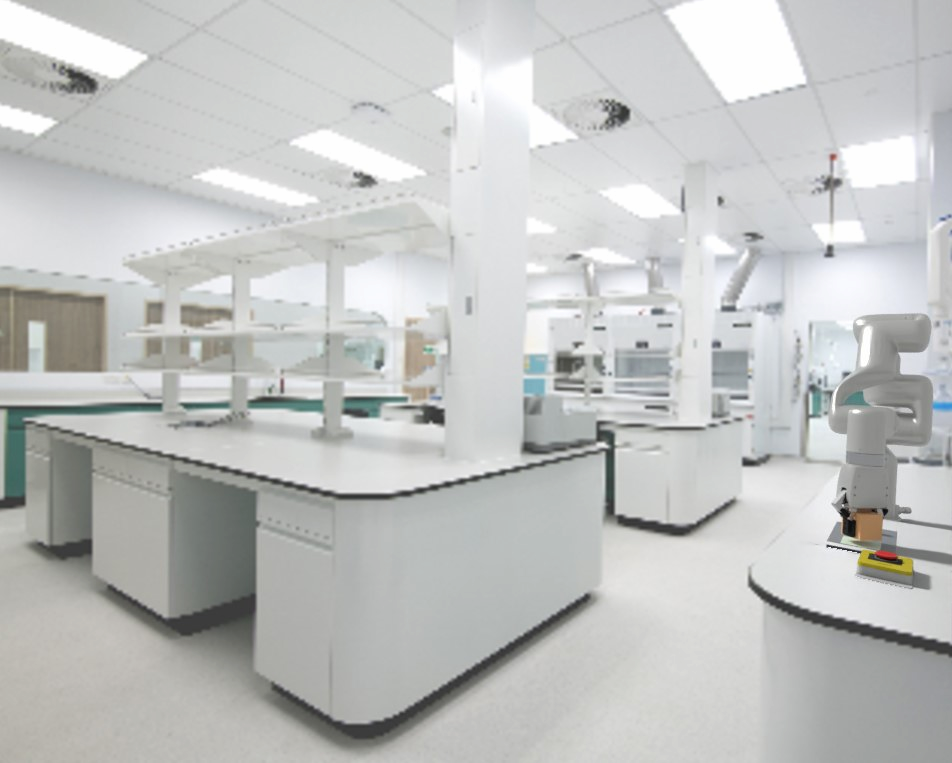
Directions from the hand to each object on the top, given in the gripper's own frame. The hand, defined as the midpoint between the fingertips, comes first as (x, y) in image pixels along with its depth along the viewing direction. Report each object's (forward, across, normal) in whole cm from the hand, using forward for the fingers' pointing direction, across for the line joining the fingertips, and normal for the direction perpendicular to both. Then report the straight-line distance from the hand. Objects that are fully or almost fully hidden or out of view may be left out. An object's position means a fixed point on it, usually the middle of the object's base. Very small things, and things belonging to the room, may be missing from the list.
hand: (861, 534), depth 130 cm
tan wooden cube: (0, 0, 0) cm, 0 cm away
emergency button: (+4, +8, +15) cm, 17 cm away
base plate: (+4, -6, -6) cm, 9 cm away
